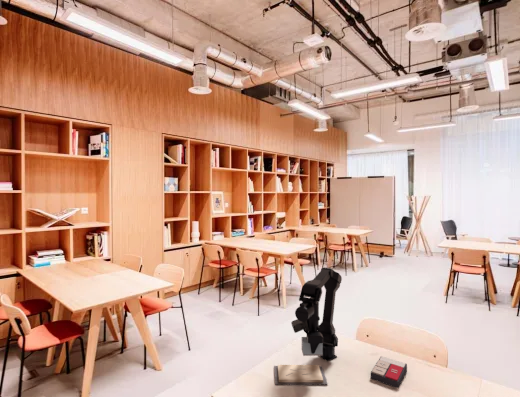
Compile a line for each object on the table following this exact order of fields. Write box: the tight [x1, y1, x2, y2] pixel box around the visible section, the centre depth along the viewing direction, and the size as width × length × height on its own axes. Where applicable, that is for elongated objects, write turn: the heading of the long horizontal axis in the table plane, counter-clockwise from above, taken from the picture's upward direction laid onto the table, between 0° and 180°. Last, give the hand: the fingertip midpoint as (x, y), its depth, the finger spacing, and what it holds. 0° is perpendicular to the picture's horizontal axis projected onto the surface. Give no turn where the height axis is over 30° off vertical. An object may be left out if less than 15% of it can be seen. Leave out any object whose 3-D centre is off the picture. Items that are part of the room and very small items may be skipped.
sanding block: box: [301, 336, 323, 357], centre depth 133 cm, size 8×5×6 cm, turn 90°
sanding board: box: [273, 364, 329, 386], centre depth 133 cm, size 21×13×2 cm, turn 89°
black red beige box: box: [370, 355, 408, 389], centre depth 133 cm, size 11×4×15 cm
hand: (311, 350), depth 133 cm, fingers closed on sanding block, 5 cm apart
